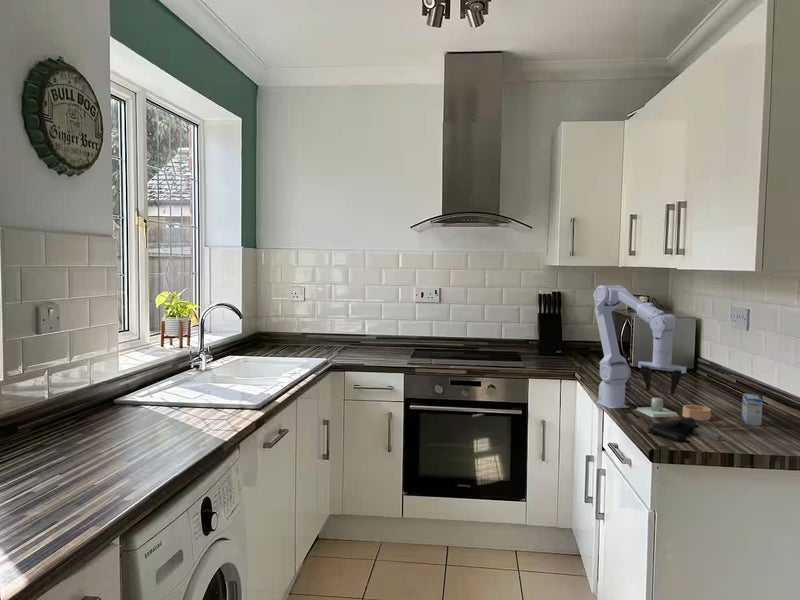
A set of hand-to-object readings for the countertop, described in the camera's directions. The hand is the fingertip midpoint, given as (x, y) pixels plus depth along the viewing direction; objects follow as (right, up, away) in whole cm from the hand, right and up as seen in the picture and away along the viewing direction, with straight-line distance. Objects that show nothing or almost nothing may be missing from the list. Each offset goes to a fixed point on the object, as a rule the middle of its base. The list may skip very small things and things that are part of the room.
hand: (660, 391), depth 189 cm
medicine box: (+30, -10, 0) cm, 32 cm away
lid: (+3, -9, +8) cm, 12 cm away
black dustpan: (+1, -11, -15) cm, 19 cm away
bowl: (+14, -10, +4) cm, 17 cm away
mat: (+3, -9, +9) cm, 13 cm away
